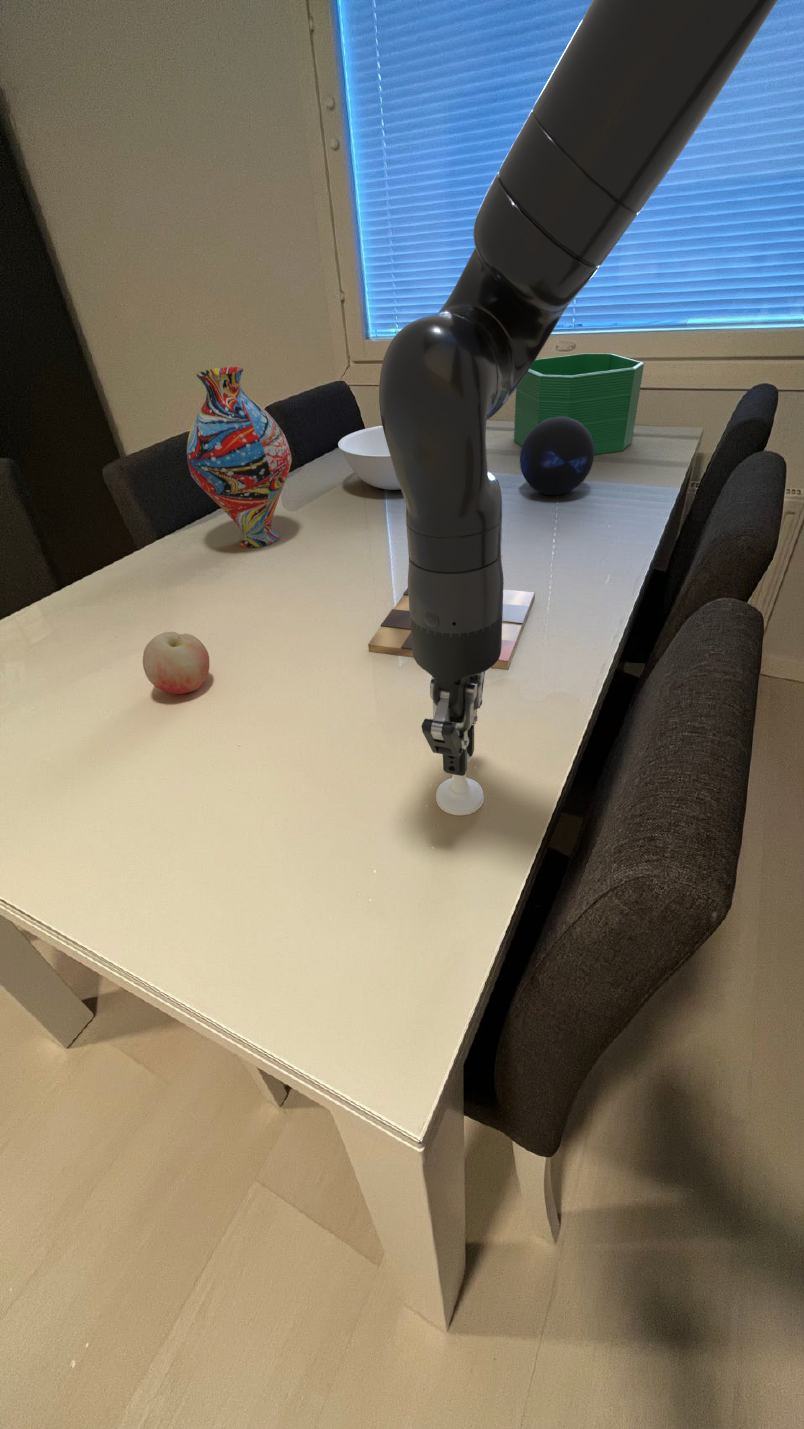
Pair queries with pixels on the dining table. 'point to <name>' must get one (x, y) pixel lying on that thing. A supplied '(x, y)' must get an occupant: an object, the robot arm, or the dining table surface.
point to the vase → (238, 455)
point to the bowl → (370, 457)
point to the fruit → (176, 662)
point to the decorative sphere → (557, 455)
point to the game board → (398, 628)
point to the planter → (582, 397)
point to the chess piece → (460, 794)
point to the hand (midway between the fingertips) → (459, 761)
